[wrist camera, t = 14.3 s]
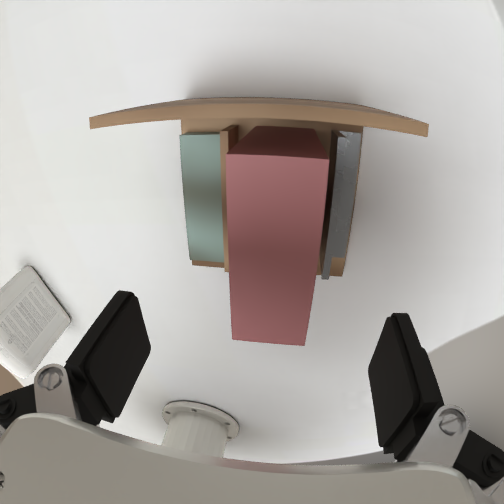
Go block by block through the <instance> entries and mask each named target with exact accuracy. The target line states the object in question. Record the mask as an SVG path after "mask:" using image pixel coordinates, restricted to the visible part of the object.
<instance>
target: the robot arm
mask: <svg viewBox="0 0 504 504" xmlns="http://www.w3.org/2000/svg"><path fill="white" fill-rule="evenodd" d="M150 350H151V345H150V342H149V338H148V335H147V331H146V327H145V324H144V320H143V316H142V312H141V308H140V305H139V301H138V298H137V297H136V296H135V295H134V294H133V293H132V292H127V291H118V292H117V293H116V294H115V295H114V296H113V298H112V299H111V300H110V302H109V303H108V304H107V306H106V307H105V308H104V310H103V311H102V312H101V314H100V315H99V316H98V318H97V319H96V320H95V322H94V323H93V324H92V326H91V327H90V329H89V330H88V331H87V333H86V334H85V335H84V337H83V338H82V340H81V341H80V342H79V344H78V345H77V347H76V348H75V350H74V351H73V352H72V354H71V355H70V357H69V358H68V360H67V361H66V365H65V366H64V367H63V366H61V365H59V364H49V365H46V366H44V367H43V368H41V369H40V370H39V371H38V372H37V374H36V376H35V378H34V384H32V385H29V386H26V387H23V388H20V389H17V390H14V391H12V392H9V393H6V394H3V395H1V396H0V504H504V452H503V451H502V450H501V449H500V448H498V447H496V446H495V445H493V444H491V443H490V442H488V441H486V440H485V439H484V438H482V437H480V436H479V435H477V434H476V433H474V432H472V431H471V430H469V428H470V420H469V417H468V415H467V413H466V412H465V411H464V410H463V409H462V408H460V407H458V406H456V405H444V402H443V399H442V396H441V393H440V389H439V386H438V383H437V380H436V378H435V375H434V372H433V369H432V366H431V363H430V360H429V358H428V355H427V352H426V351H425V349H424V348H422V347H421V345H420V342H419V339H418V337H417V334H416V332H415V329H414V327H413V324H412V322H411V319H410V317H409V315H408V314H407V313H393V314H392V315H391V317H387V319H386V321H385V324H384V327H383V330H382V333H381V335H380V338H379V341H378V344H377V346H376V349H375V351H374V354H373V357H372V359H371V362H370V364H369V368H368V375H369V380H370V386H371V392H372V399H373V405H374V412H375V419H376V426H377V434H378V442H379V446H380V447H383V450H384V454H388V453H394V458H395V459H396V461H395V462H394V463H378V464H362V465H327V466H325V465H319V466H318V465H288V464H273V463H261V462H251V461H242V460H234V459H227V458H223V455H224V450H225V446H226V441H230V440H232V439H234V438H236V436H237V435H238V431H239V426H238V424H237V422H236V421H235V420H234V419H233V418H232V417H231V416H229V415H228V414H226V413H224V412H222V411H220V410H218V409H216V408H213V407H210V406H207V405H204V404H200V403H195V402H187V401H178V402H172V403H169V404H167V405H166V406H165V407H164V409H163V412H162V417H163V419H164V421H165V422H166V423H167V424H168V427H167V430H166V433H165V436H164V439H163V442H162V445H157V444H153V443H149V442H146V441H142V440H138V439H135V438H132V437H128V436H125V435H122V434H119V433H115V432H112V431H109V430H106V429H103V428H100V426H99V423H100V421H101V420H104V421H107V422H110V423H113V422H114V420H115V418H116V417H119V416H120V414H121V412H122V410H123V408H124V406H125V404H126V401H127V399H128V397H129V395H130V393H131V391H132V389H133V387H134V385H135V383H136V380H137V378H138V376H139V374H140V372H141V370H142V368H143V366H144V364H145V362H146V360H147V358H148V356H149V354H150Z"/></svg>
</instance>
